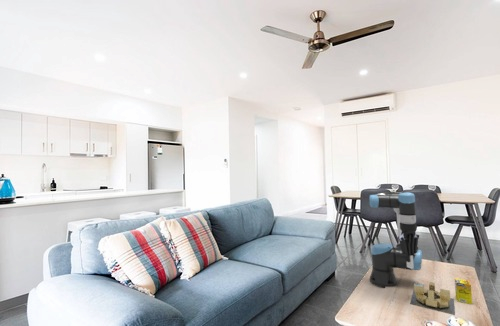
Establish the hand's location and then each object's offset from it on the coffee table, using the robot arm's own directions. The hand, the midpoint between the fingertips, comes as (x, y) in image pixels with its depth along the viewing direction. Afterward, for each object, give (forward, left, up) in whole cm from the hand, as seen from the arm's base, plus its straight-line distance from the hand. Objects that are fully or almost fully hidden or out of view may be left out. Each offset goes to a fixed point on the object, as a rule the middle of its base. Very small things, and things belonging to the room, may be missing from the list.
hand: (410, 267), depth 134 cm
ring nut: (+8, +5, -17) cm, 20 cm away
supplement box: (+21, +15, -19) cm, 32 cm away
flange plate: (+8, +5, -18) cm, 21 cm away
